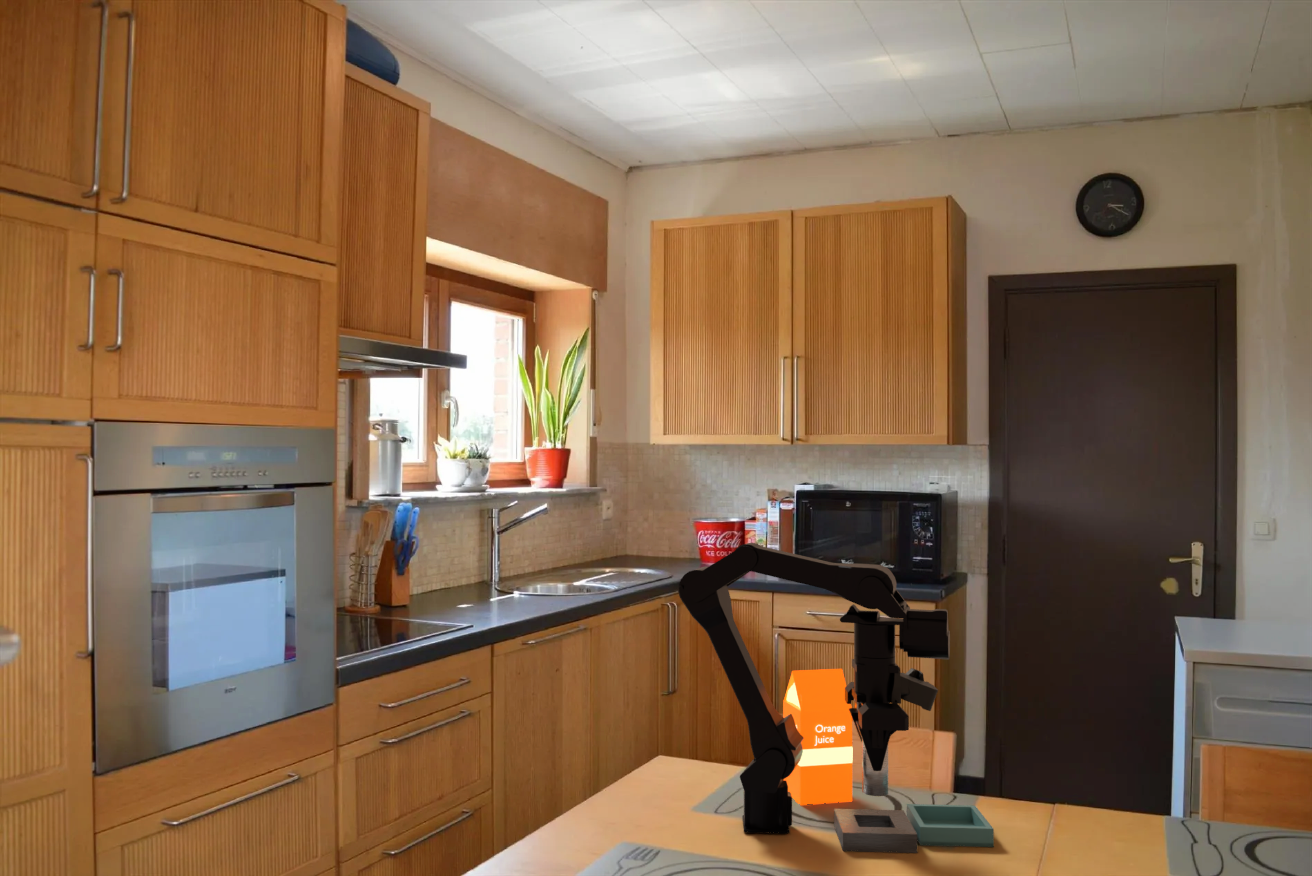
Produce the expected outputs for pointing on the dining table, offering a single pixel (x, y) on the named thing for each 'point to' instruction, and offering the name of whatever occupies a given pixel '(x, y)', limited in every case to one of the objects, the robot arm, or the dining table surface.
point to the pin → (874, 776)
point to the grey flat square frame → (875, 831)
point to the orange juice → (820, 736)
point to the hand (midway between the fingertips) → (874, 766)
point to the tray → (950, 825)
